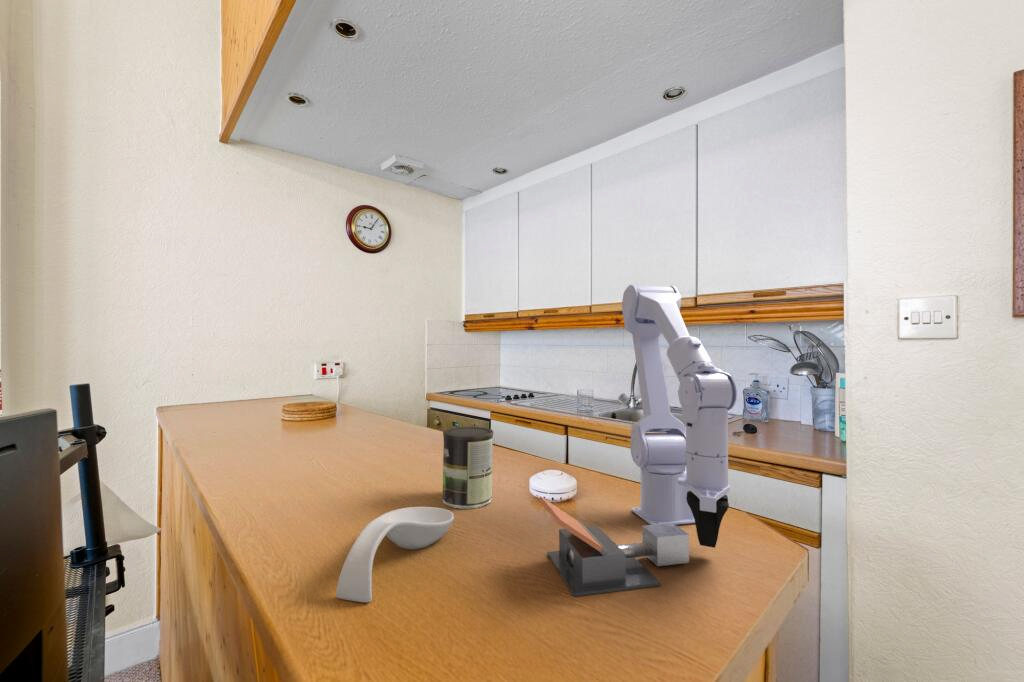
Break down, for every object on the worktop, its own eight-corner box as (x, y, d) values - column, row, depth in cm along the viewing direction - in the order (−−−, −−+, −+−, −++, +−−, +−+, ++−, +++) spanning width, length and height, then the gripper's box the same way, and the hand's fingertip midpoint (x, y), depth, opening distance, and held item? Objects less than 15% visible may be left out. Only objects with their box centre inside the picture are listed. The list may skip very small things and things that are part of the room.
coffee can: (439, 510, 80) (440, 436, 80) (444, 492, 90) (445, 426, 90) (493, 509, 81) (494, 435, 81) (491, 491, 91) (492, 426, 91)
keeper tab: (578, 527, 63) (581, 522, 63) (605, 557, 54) (609, 550, 54) (537, 500, 61) (540, 495, 62) (557, 525, 52) (561, 519, 53)
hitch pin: (672, 549, 63) (672, 522, 63) (689, 562, 59) (688, 534, 59) (566, 560, 59) (566, 532, 60) (576, 575, 56) (576, 545, 56)
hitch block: (620, 547, 65) (620, 520, 65) (660, 585, 54) (660, 553, 55) (547, 554, 62) (547, 527, 63) (574, 596, 52) (574, 563, 52)
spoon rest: (400, 522, 74) (401, 482, 75) (463, 528, 72) (463, 486, 72) (311, 598, 51) (312, 539, 51) (399, 611, 49) (400, 549, 49)
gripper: (679, 441, 71) (680, 522, 70) (675, 460, 58) (676, 560, 57) (726, 445, 68) (727, 529, 68) (733, 466, 55) (734, 571, 54)
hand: (707, 544), depth 62 cm, fingers closed
